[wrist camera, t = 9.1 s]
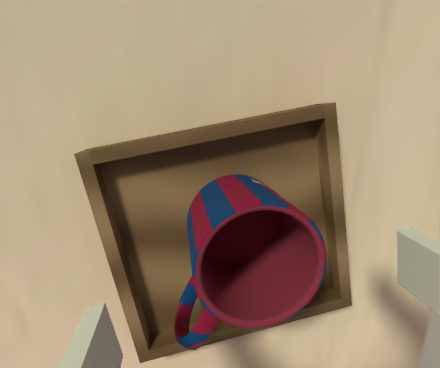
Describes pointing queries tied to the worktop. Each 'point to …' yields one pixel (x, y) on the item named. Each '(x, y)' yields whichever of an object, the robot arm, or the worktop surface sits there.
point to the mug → (247, 259)
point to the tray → (183, 196)
